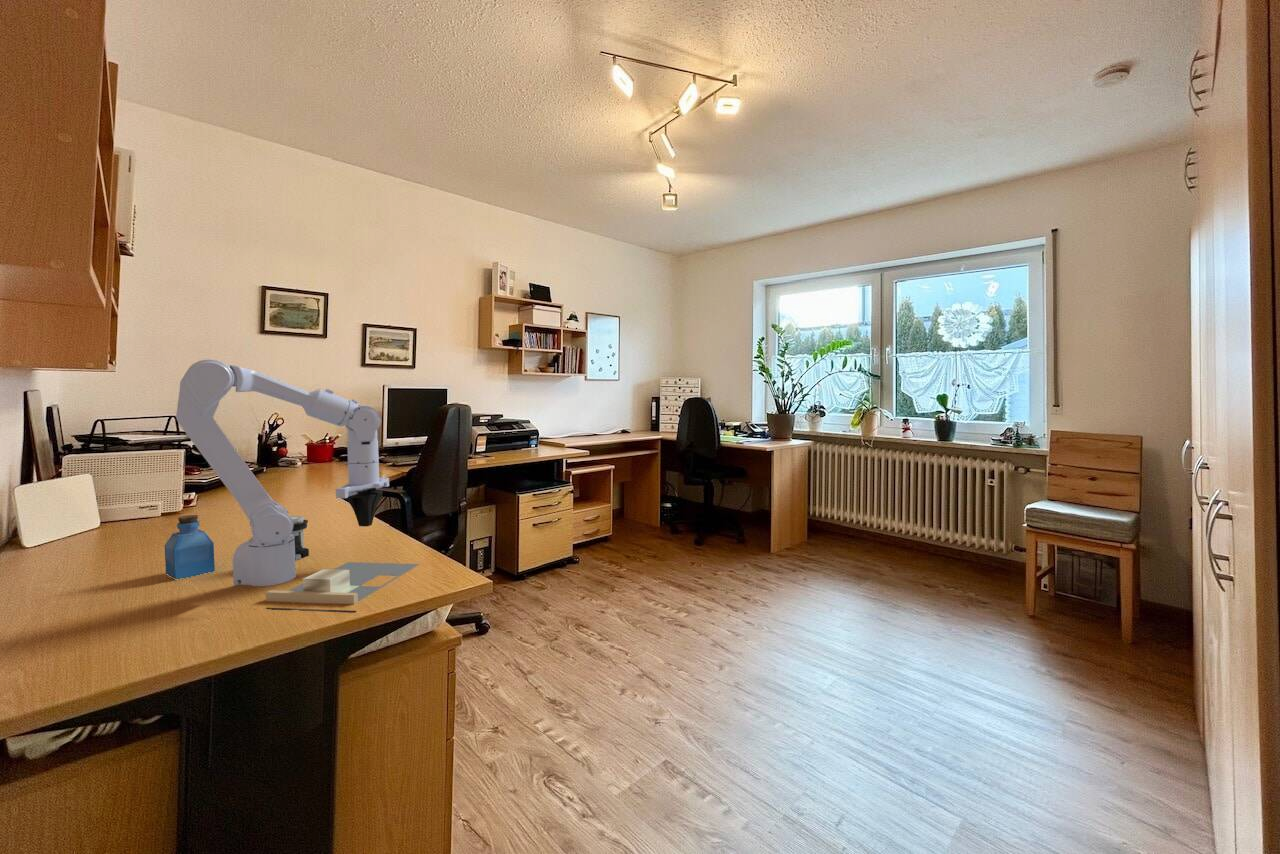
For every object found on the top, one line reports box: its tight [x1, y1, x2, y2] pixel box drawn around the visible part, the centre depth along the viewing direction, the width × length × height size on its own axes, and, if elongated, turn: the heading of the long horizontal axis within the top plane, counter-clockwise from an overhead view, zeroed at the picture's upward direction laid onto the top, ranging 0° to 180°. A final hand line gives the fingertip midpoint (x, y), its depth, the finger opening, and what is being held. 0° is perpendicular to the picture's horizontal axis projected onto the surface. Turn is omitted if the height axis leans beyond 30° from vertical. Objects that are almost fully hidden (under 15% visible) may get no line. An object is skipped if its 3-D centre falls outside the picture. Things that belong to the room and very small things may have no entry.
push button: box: [290, 515, 310, 562], centre depth 110 cm, size 7×5×10 cm
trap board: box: [265, 561, 420, 614], centre depth 95 cm, size 16×21×3 cm
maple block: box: [302, 568, 350, 593], centre depth 89 cm, size 5×5×4 cm
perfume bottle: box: [164, 514, 216, 580], centre depth 104 cm, size 6×6×12 cm
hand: (365, 525), depth 106 cm, fingers closed
